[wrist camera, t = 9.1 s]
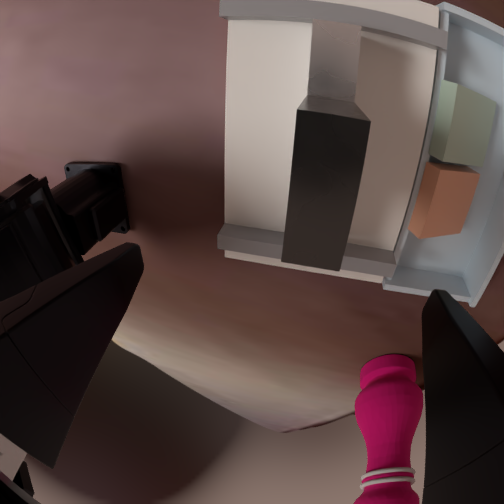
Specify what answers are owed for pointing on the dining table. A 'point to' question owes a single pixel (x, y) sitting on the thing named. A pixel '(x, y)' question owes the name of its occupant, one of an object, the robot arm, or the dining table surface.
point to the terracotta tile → (443, 200)
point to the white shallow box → (284, 118)
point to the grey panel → (326, 151)
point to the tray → (491, 174)
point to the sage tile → (462, 125)
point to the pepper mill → (388, 428)
